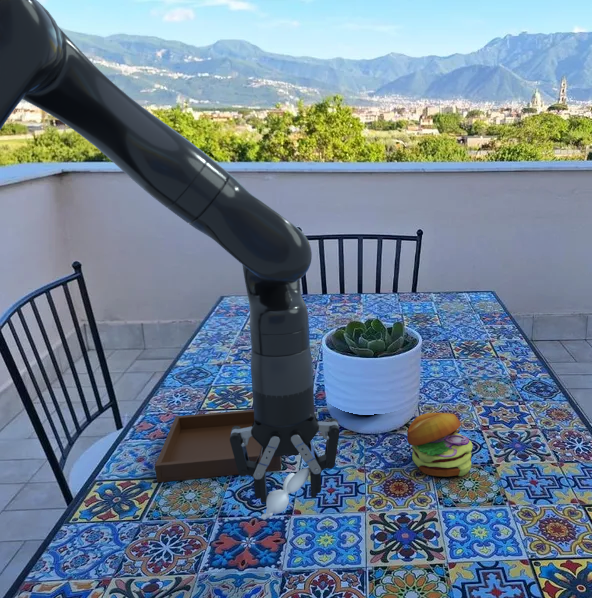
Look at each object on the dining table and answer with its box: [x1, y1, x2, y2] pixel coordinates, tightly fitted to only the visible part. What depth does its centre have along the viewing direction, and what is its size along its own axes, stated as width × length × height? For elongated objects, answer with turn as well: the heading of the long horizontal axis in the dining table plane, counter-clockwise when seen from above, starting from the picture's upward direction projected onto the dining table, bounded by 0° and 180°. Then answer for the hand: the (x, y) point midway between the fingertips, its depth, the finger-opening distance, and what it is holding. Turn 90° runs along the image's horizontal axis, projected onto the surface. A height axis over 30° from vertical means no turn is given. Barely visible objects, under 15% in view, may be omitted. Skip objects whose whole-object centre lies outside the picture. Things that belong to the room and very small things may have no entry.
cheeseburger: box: [406, 412, 474, 478], centre depth 94 cm, size 10×11×10 cm
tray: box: [154, 409, 283, 484], centre depth 99 cm, size 20×17×3 cm
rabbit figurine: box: [260, 466, 310, 521], centre depth 74 cm, size 6×4×8 cm
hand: (289, 496), depth 75 cm, fingers closed on rabbit figurine, 6 cm apart
